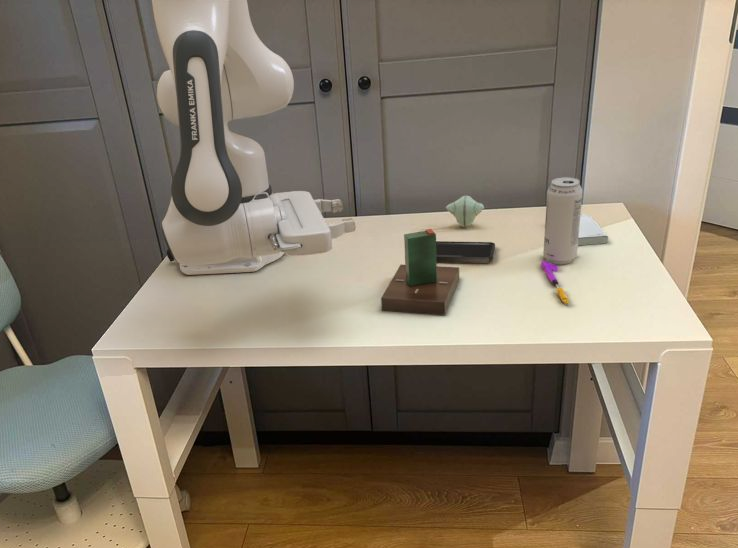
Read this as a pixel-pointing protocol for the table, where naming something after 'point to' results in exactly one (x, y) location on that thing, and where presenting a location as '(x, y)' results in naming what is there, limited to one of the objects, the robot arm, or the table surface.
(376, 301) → the table surface
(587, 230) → the hard drive
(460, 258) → the phone
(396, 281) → the dial panel
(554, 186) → the energy drink can
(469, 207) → the mint green lobed ornament
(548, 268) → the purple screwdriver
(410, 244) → the green tall block
